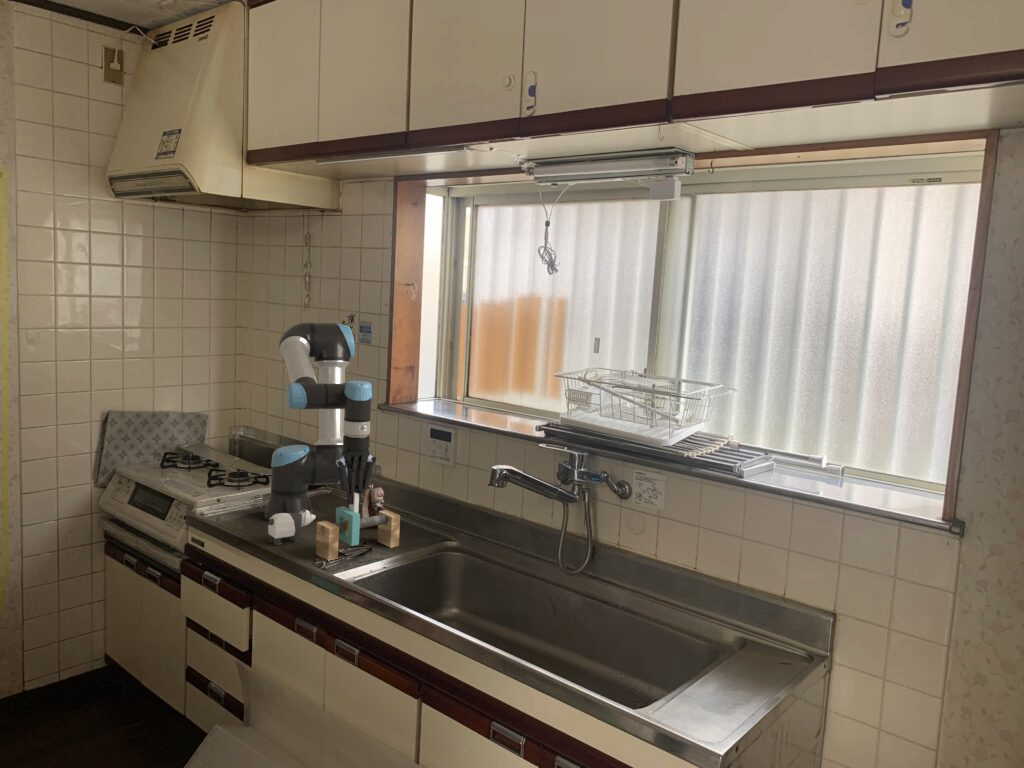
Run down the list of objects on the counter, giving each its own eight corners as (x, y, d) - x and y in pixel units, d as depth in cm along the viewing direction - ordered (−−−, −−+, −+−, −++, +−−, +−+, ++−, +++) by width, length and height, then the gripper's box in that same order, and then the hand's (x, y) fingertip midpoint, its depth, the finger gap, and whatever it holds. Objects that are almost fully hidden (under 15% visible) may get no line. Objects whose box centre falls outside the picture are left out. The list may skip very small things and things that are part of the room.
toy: (386, 530, 246) (375, 485, 245) (362, 535, 248) (350, 490, 247) (396, 522, 255) (385, 478, 254) (373, 527, 257) (361, 483, 256)
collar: (351, 546, 222) (352, 515, 220) (335, 537, 228) (336, 507, 227) (358, 544, 223) (360, 514, 222) (342, 536, 230) (343, 506, 229)
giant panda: (272, 547, 227) (273, 515, 226) (264, 541, 231) (265, 510, 230) (318, 539, 236) (319, 508, 235) (310, 534, 240) (311, 504, 239)
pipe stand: (328, 561, 218) (329, 527, 217) (315, 554, 223) (316, 521, 222) (398, 545, 235) (400, 514, 233) (385, 539, 240) (387, 508, 238)
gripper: (343, 439, 216) (340, 521, 219) (383, 435, 225) (379, 514, 228) (329, 434, 221) (327, 514, 224) (368, 430, 230) (365, 507, 233)
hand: (353, 514), depth 226 cm, fingers closed
